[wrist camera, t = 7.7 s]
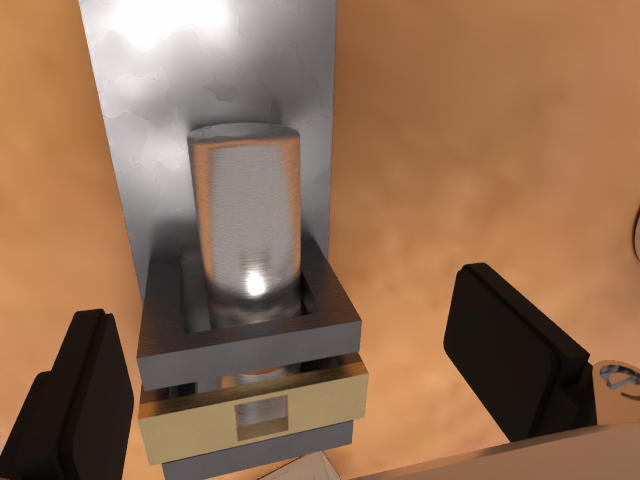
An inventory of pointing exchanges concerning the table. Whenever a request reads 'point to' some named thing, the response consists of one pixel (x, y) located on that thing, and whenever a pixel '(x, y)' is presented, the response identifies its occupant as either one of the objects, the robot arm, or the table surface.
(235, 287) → the tube
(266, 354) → the rail
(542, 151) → the table surface
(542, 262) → the table surface
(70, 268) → the table surface
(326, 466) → the small box
